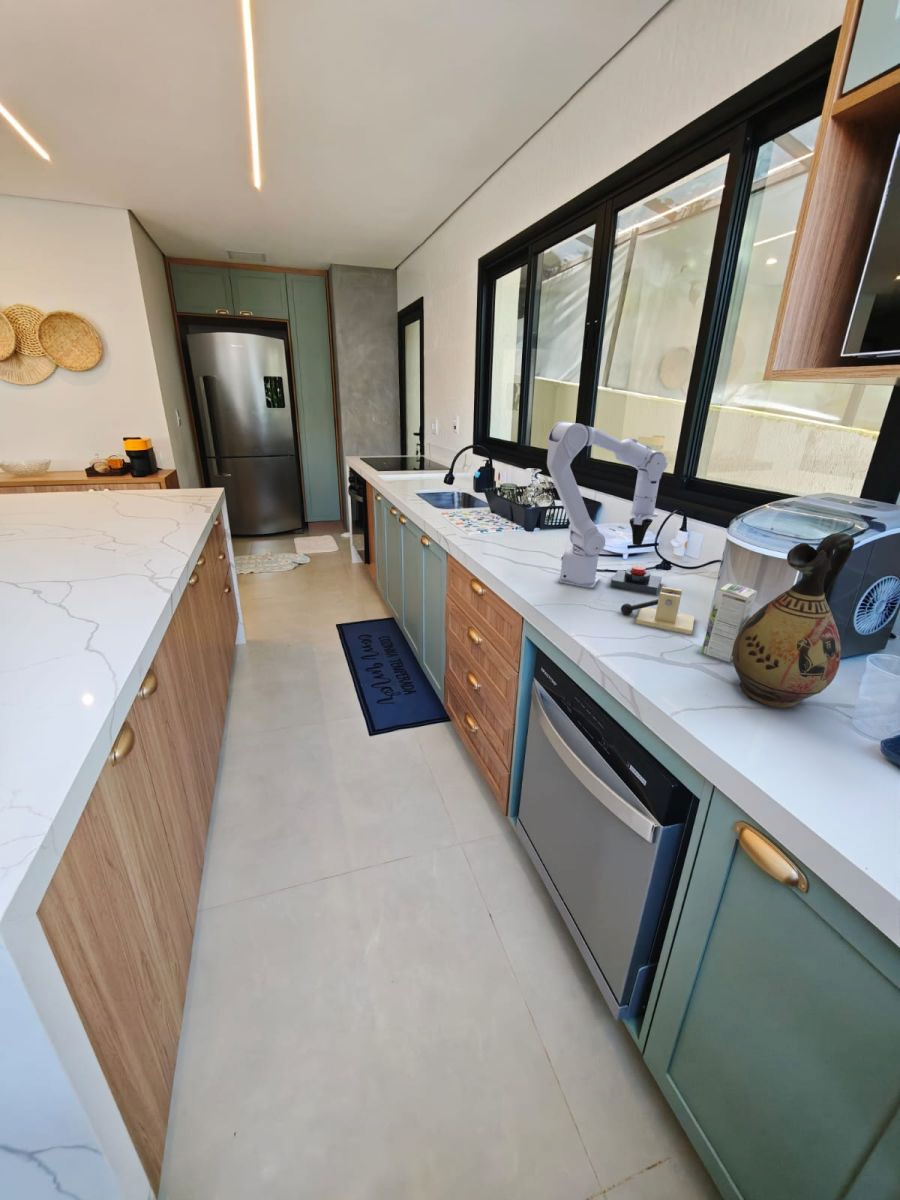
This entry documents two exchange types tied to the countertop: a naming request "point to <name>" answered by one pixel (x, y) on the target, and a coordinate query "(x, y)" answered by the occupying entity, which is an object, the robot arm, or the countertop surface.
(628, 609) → the lever
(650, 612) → the cream lever stand
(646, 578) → the block
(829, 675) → the ceramic jug
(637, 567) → the button
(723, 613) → the syrup box
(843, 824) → the countertop surface
